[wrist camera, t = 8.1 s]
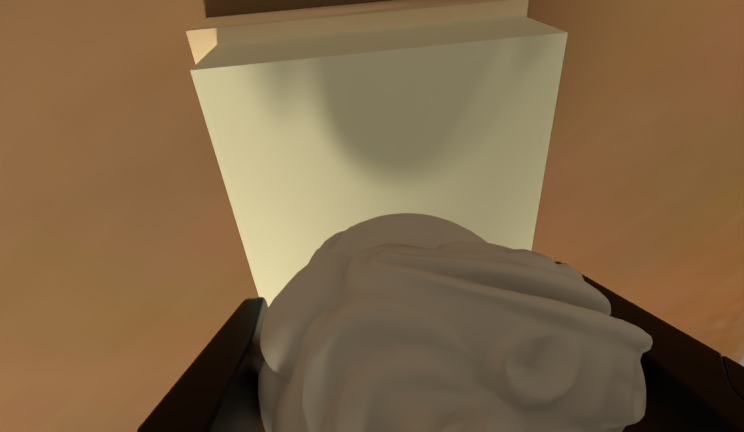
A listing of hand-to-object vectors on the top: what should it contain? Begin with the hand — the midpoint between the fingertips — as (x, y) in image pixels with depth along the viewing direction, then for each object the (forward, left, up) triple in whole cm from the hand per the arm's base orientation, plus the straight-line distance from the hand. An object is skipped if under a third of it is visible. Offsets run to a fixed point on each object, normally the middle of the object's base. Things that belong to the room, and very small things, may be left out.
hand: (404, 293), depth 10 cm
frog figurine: (0, 0, -2) cm, 2 cm away
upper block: (0, 0, -7) cm, 7 cm away
